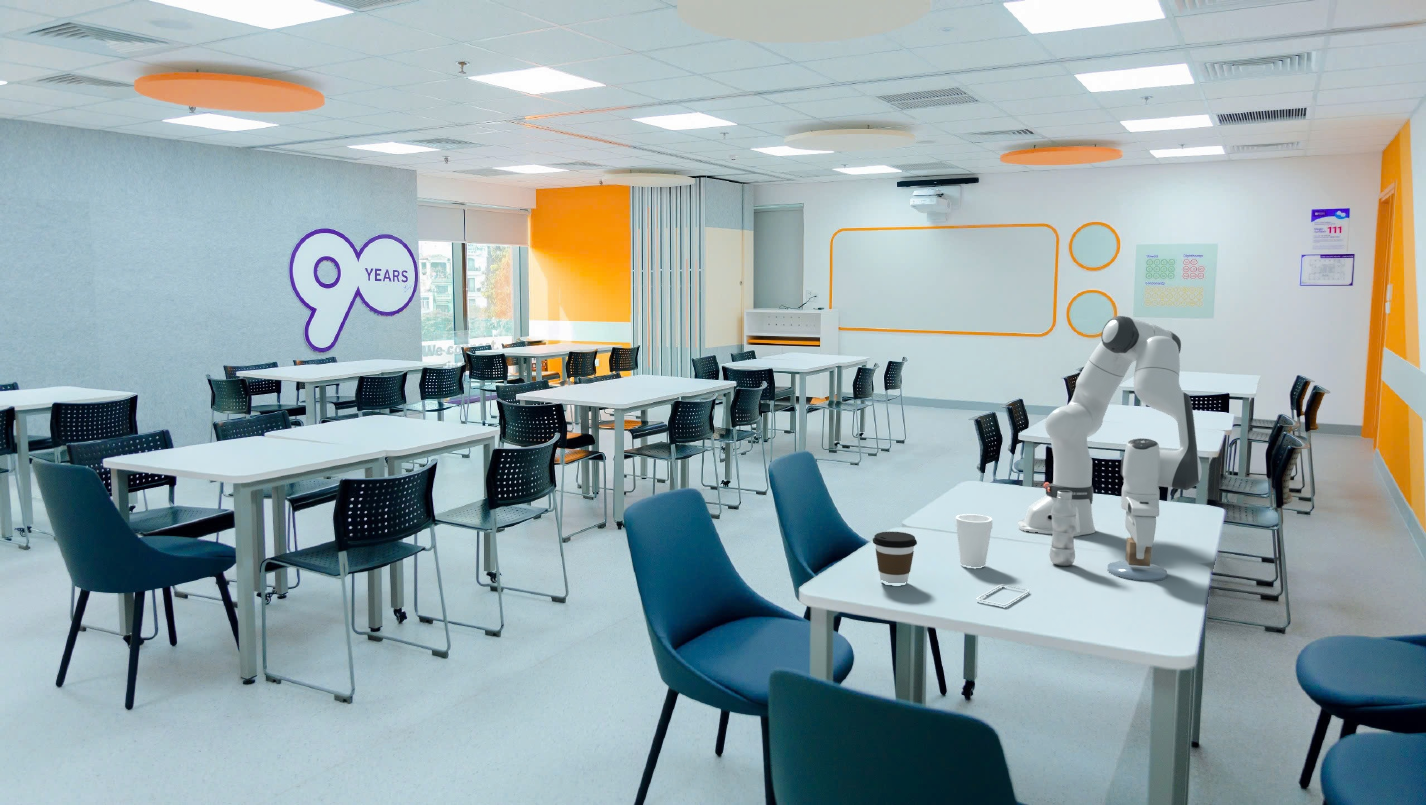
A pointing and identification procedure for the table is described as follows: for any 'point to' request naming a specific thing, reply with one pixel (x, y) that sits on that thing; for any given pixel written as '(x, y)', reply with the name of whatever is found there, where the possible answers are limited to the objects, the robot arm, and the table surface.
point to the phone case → (1008, 602)
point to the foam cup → (973, 538)
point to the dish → (1137, 571)
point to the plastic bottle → (1063, 529)
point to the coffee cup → (894, 555)
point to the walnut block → (1132, 554)
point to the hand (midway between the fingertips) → (1137, 554)
